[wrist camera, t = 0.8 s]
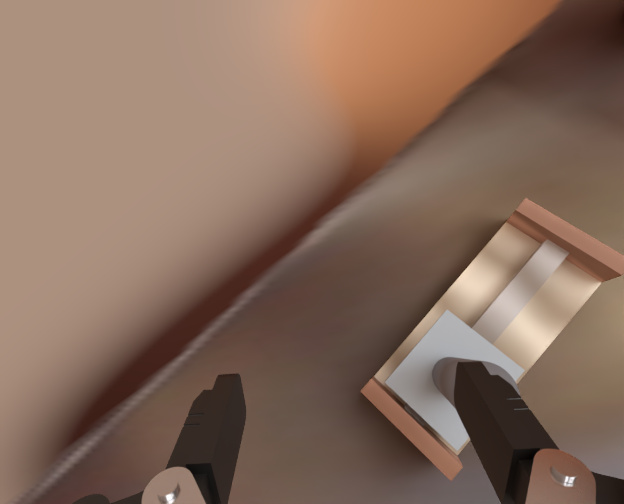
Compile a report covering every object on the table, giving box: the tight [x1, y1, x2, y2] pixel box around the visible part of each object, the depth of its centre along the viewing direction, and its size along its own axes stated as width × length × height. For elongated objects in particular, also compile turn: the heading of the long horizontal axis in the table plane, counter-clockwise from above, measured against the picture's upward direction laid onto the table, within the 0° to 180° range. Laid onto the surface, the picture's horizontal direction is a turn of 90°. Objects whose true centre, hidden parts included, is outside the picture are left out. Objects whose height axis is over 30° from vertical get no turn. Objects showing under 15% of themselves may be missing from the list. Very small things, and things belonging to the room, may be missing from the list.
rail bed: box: [360, 198, 624, 481], centre depth 31 cm, size 22×9×5 cm, turn 137°
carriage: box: [385, 310, 525, 451], centre depth 24 cm, size 8×7×15 cm
